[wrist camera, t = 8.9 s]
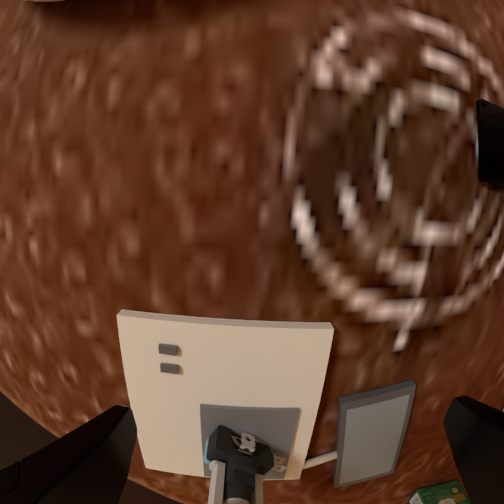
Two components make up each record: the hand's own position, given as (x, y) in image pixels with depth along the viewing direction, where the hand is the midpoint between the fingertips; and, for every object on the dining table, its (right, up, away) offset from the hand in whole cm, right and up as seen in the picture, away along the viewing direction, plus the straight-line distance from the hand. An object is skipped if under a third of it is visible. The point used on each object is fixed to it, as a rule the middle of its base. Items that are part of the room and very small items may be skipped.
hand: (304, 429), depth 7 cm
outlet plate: (-4, -8, +14) cm, 17 cm away
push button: (-2, -10, +14) cm, 17 cm away
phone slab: (+9, -12, +15) cm, 22 cm away
